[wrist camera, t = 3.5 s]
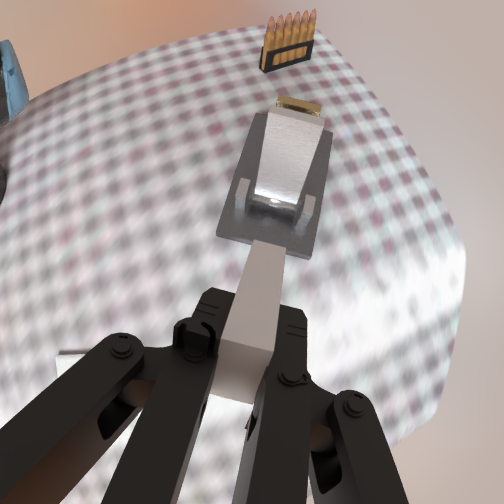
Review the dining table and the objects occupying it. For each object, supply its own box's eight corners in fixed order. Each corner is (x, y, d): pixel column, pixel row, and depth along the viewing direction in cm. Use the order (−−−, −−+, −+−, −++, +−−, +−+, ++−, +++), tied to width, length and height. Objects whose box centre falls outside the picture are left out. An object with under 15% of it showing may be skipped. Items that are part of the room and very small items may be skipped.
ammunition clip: (264, 73, 49) (270, 20, 38) (258, 68, 50) (263, 15, 38) (310, 59, 52) (322, 10, 40) (304, 54, 52) (315, 6, 40)
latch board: (308, 260, 40) (321, 243, 34) (216, 236, 40) (213, 215, 34) (330, 138, 46) (342, 111, 39) (255, 119, 46) (258, 90, 40)
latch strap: (296, 216, 38) (329, 131, 25) (248, 204, 38) (261, 113, 26) (299, 204, 39) (330, 118, 26) (252, 191, 39) (266, 101, 27)
